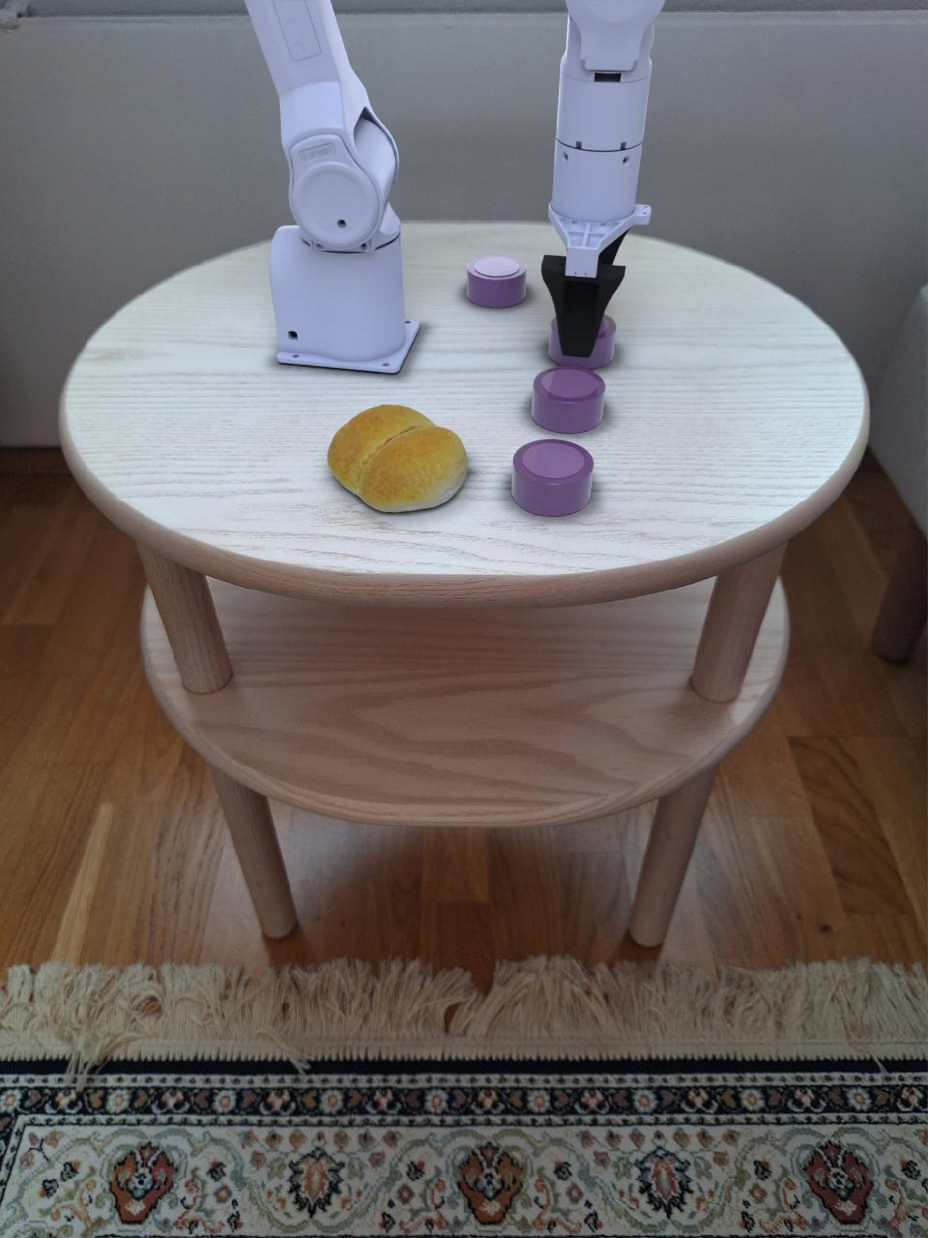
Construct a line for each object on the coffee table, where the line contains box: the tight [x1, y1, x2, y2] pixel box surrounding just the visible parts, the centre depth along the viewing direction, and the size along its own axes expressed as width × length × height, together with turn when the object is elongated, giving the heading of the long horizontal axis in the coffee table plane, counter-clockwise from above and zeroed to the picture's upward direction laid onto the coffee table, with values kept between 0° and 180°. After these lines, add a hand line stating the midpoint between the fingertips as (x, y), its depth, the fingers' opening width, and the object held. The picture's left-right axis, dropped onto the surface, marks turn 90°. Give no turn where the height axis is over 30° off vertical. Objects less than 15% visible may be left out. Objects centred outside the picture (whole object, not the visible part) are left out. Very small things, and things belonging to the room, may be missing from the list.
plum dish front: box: [510, 438, 595, 517], centre depth 59 cm, size 5×5×2 cm
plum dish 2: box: [530, 365, 607, 434], centre depth 66 cm, size 5×5×2 cm
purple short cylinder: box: [466, 254, 528, 309], centre depth 80 cm, size 5×5×2 cm
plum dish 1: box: [547, 313, 618, 370], centre depth 72 cm, size 5×5×2 cm
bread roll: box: [326, 404, 469, 514], centre depth 60 cm, size 8×9×4 cm
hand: (581, 330), depth 72 cm, fingers open, 7 cm apart
